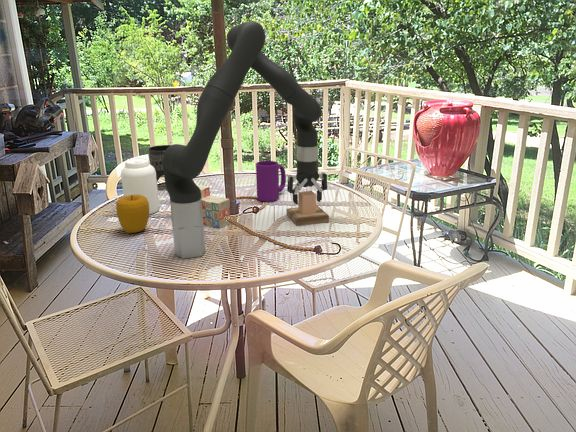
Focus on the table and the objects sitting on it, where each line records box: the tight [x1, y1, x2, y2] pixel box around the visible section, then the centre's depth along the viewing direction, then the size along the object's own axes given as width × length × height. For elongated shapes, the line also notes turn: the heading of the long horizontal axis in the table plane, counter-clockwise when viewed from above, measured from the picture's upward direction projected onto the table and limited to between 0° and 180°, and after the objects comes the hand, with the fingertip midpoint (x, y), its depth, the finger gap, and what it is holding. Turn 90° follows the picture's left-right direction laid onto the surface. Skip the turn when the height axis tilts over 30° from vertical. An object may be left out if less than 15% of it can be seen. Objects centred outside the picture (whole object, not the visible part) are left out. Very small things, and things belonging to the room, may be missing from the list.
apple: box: [115, 195, 150, 234], centre depth 169 cm, size 11×11×13 cm
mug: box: [255, 160, 287, 203], centre depth 203 cm, size 9×16×15 cm, turn 142°
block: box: [297, 190, 317, 215], centre depth 178 cm, size 5×5×7 cm
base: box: [286, 204, 330, 227], centre depth 180 cm, size 12×12×3 cm
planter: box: [147, 144, 172, 183], centre depth 217 cm, size 13×13×18 cm
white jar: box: [120, 157, 160, 215], centre depth 187 cm, size 12×12×20 cm
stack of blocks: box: [196, 184, 231, 229], centre depth 178 cm, size 21×6×12 cm, turn 56°
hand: (307, 202), depth 178 cm, fingers open, 8 cm apart
